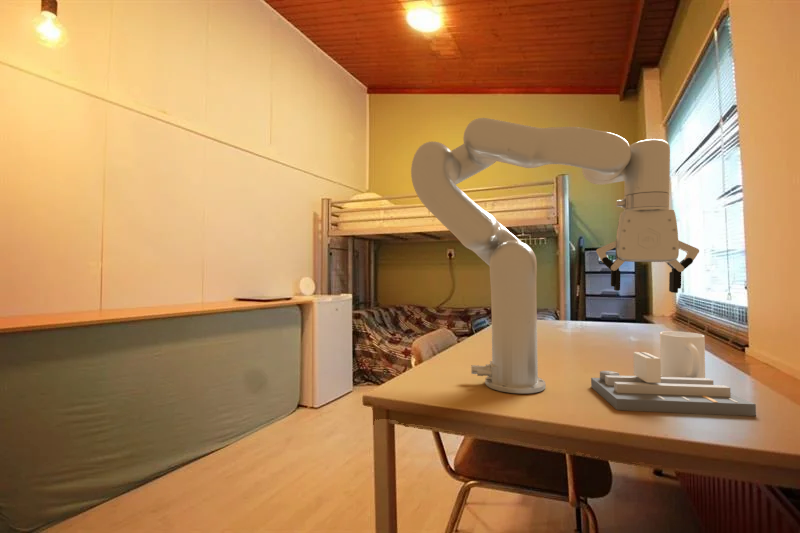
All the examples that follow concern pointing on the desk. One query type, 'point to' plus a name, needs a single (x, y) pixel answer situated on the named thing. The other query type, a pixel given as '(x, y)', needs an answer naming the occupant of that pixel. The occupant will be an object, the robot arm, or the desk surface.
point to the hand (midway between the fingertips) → (644, 291)
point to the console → (670, 395)
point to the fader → (647, 368)
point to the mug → (682, 354)
